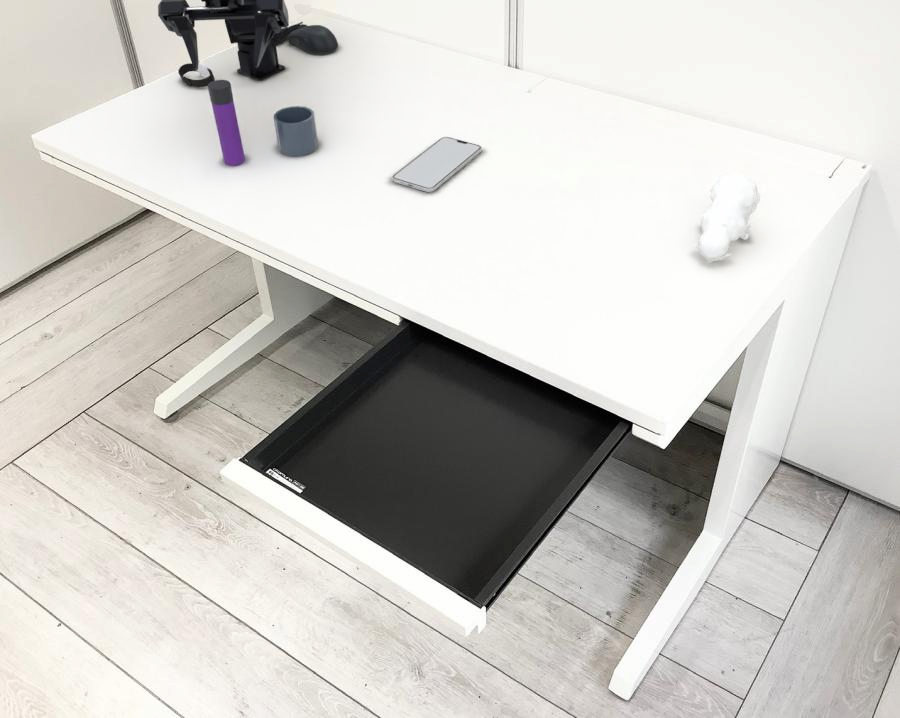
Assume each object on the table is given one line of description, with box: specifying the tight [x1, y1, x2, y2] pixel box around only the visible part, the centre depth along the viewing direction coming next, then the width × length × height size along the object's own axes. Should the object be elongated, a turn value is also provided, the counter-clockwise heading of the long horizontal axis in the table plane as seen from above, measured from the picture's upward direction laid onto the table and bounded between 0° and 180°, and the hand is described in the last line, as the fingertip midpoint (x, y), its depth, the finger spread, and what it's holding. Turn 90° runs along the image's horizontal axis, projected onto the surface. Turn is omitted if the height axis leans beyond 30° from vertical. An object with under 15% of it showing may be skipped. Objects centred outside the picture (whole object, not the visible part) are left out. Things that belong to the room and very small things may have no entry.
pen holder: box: [273, 105, 319, 158], centre depth 140 cm, size 6×6×6 cm
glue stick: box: [207, 79, 246, 167], centre depth 134 cm, size 3×3×12 cm
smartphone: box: [391, 136, 482, 193], centre depth 135 cm, size 7×1×15 cm
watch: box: [177, 60, 215, 88], centre depth 160 cm, size 8×5×4 cm, turn 54°
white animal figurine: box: [694, 172, 761, 264], centre depth 115 cm, size 6×8×12 cm
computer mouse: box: [275, 21, 339, 56], centre depth 172 cm, size 10×15×4 cm
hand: (225, 67), depth 135 cm, fingers open, 9 cm apart
